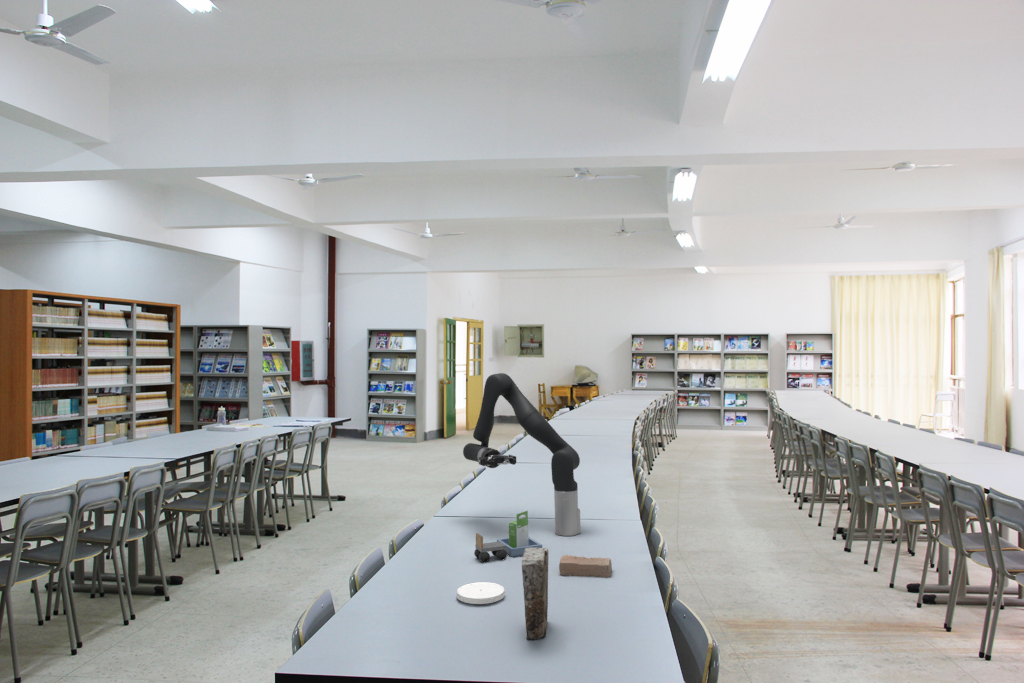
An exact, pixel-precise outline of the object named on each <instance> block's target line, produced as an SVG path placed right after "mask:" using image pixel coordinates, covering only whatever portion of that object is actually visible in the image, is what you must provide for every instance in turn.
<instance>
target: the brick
mask: <svg viewBox="0 0 1024 683" xmlns="http://www.w3.org/2000/svg"><path fill="white" fill-rule="evenodd" d="M612 564H613V563H612V560H611V558H610V557H585V556H576V555H568V554H565V555H564V554H563V555H561V557H560V560H559V565H558V568H559V569H558V570H559V574H560V576H561V575H562V576H567V575H568V577H569V575H571V576H570V577H590V576H595V577H596V578H610V577H611V576H612V572H613V567H612V566H613V565H612ZM611 571H612V572H611Z"/></svg>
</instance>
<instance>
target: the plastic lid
mask: <svg viewBox="0 0 1024 683" xmlns="http://www.w3.org/2000/svg"><path fill="white" fill-rule="evenodd" d="M505 591H506V590H505V587H504V586H502V585H501V584H499V583H494V582H487V581H486V582H484V581H483V582H482V581H480V582H472V583H467V584H464V585H462V586H459V587H458V588H457V590H456V597H457V599H458V600H459V601H461V602H462V603H466V604H471V605H483V604H484V605H485V604H491V603H492V604H493V603H495V602H499V601H501V600H502V599H503V598H504V597H505V596H506V594H505V593H506V592H505Z"/></svg>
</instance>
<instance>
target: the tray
mask: <svg viewBox="0 0 1024 683" xmlns="http://www.w3.org/2000/svg"><path fill="white" fill-rule="evenodd" d="M528 537H529V546H524V547H517V548H512V547H510V546H509V537H507V538H506V537H505V538H498V539H496V542H498V541H499V542H501V543H502V544H504V545H505V546H506V549H504V550H505V551H506V552H507V554H508V555H509V556H508V555H507V556H508V557H510V558H511V557H513V558H518V556H520V557H523V555H524V551H525V548H543V544H542V543H540V542H538V541H537V540H535V539H533V538H532V537H530V536H528Z"/></svg>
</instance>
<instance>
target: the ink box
mask: <svg viewBox="0 0 1024 683" xmlns="http://www.w3.org/2000/svg"><path fill="white" fill-rule="evenodd" d="M515 515H516V520H513V521H511V522H508V538H509V546H510V547H512V548H517V547H524V546H529V537H530V536H529V512H528V510H526V511H521V512H519V513H516V514H515ZM522 515H523V516H524V517H521V516H522ZM520 517H521V518H520Z"/></svg>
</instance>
